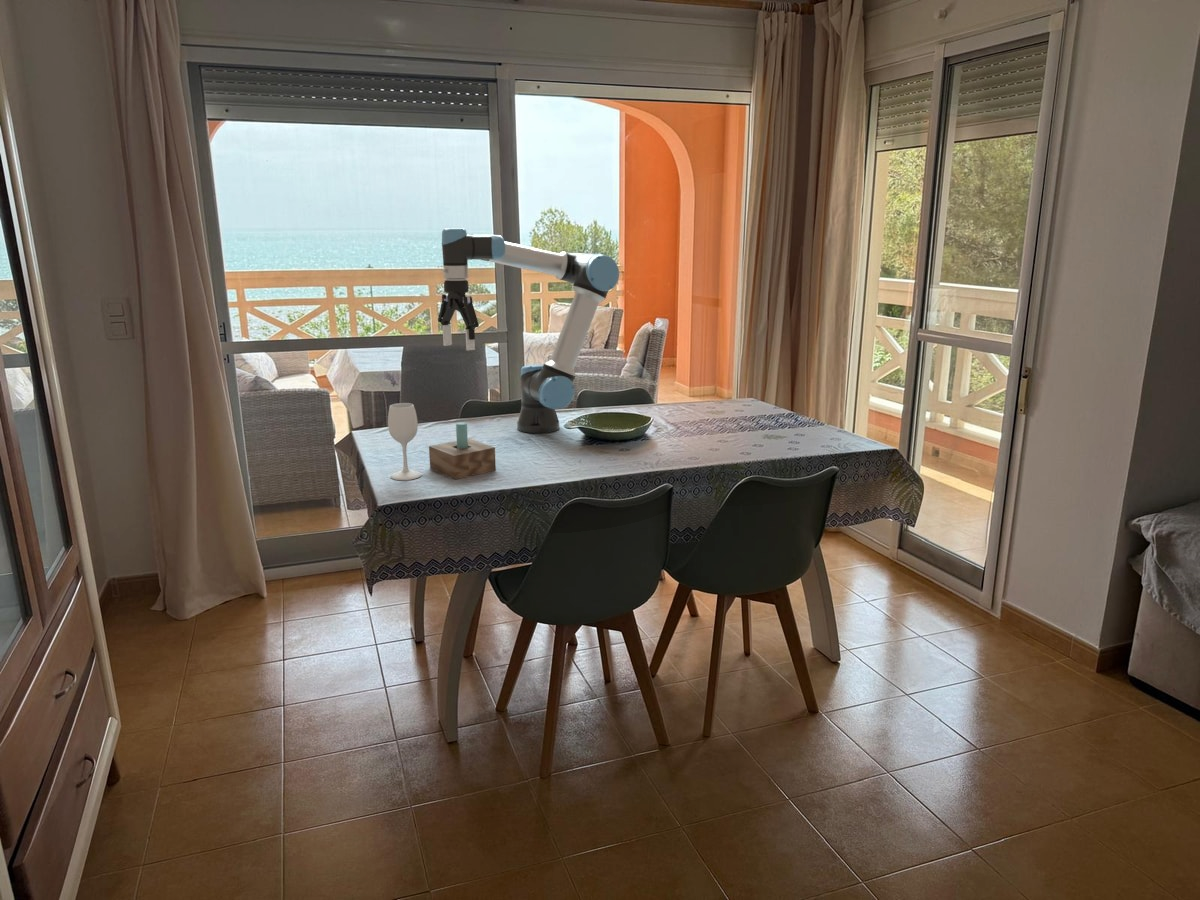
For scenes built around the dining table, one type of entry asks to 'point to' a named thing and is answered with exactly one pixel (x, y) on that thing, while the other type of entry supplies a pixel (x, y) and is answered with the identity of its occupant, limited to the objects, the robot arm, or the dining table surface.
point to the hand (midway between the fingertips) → (458, 347)
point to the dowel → (461, 435)
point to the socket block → (462, 459)
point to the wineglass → (403, 434)
